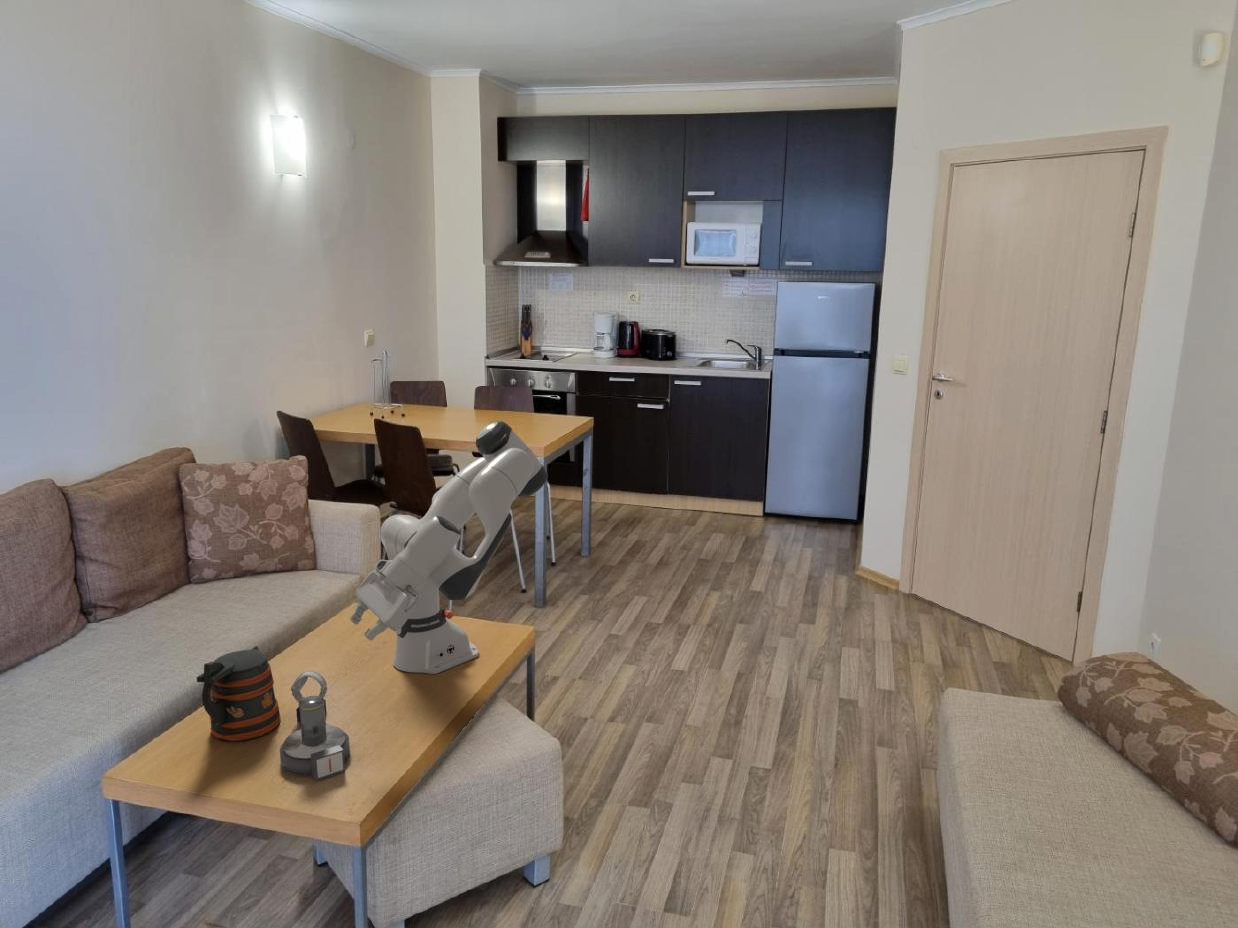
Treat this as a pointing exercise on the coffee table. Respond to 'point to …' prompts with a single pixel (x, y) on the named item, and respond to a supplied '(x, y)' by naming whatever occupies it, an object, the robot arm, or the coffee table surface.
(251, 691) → the beer stein
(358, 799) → the coffee table surface
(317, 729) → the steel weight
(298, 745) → the pan
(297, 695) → the watch
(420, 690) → the coffee table surface
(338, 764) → the scale
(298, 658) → the coffee table surface
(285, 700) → the coffee table surface
